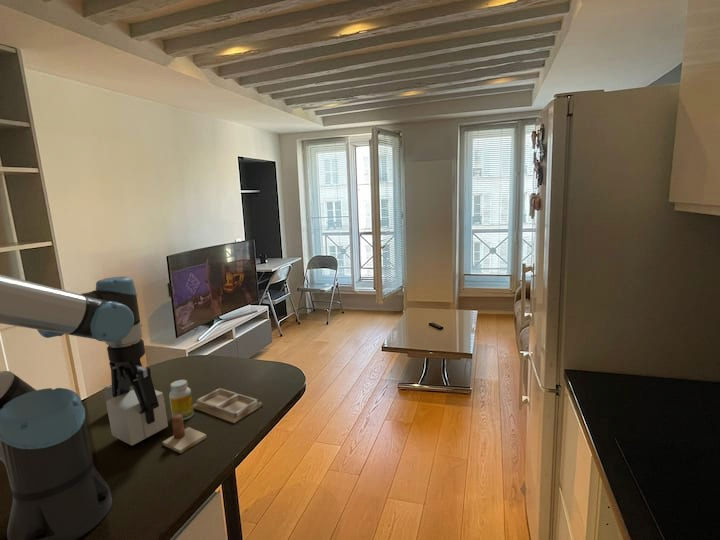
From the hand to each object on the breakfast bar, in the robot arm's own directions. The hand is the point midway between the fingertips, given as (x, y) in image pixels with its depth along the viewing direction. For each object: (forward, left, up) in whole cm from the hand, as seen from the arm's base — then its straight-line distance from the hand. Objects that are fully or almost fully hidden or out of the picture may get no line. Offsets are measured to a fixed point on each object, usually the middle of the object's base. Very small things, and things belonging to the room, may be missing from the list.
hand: (139, 429), depth 98 cm
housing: (0, 0, 0) cm, 0 cm away
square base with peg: (+4, -12, -2) cm, 13 cm away
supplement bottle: (+11, -1, -2) cm, 11 cm away
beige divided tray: (+20, -8, -2) cm, 22 cm away
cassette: (+6, +16, -2) cm, 17 cm away
